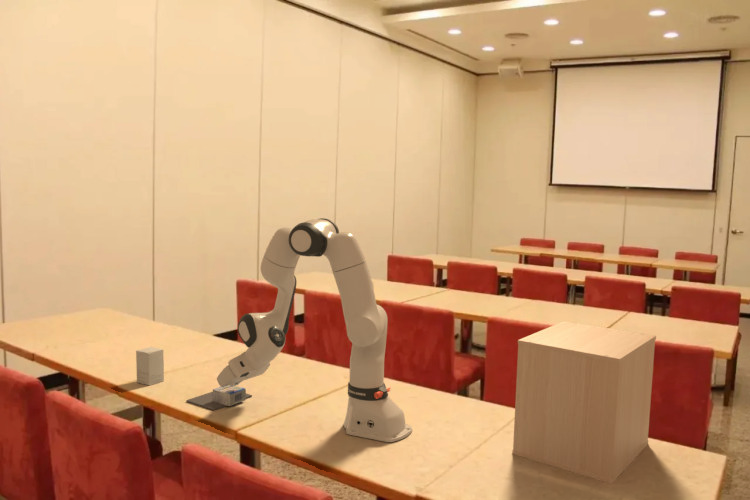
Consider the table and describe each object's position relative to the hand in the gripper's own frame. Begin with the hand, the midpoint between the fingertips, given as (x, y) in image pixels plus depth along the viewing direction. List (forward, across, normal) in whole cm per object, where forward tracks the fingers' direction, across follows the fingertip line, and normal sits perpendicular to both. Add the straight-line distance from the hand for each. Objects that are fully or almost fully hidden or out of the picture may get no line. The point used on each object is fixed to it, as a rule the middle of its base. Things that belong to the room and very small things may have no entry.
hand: (233, 384), depth 226 cm
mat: (+10, 0, 0) cm, 10 cm away
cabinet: (-73, -38, +83) cm, 117 cm away
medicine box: (+1, 0, +5) cm, 5 cm away
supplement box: (+35, +3, -25) cm, 43 cm away
